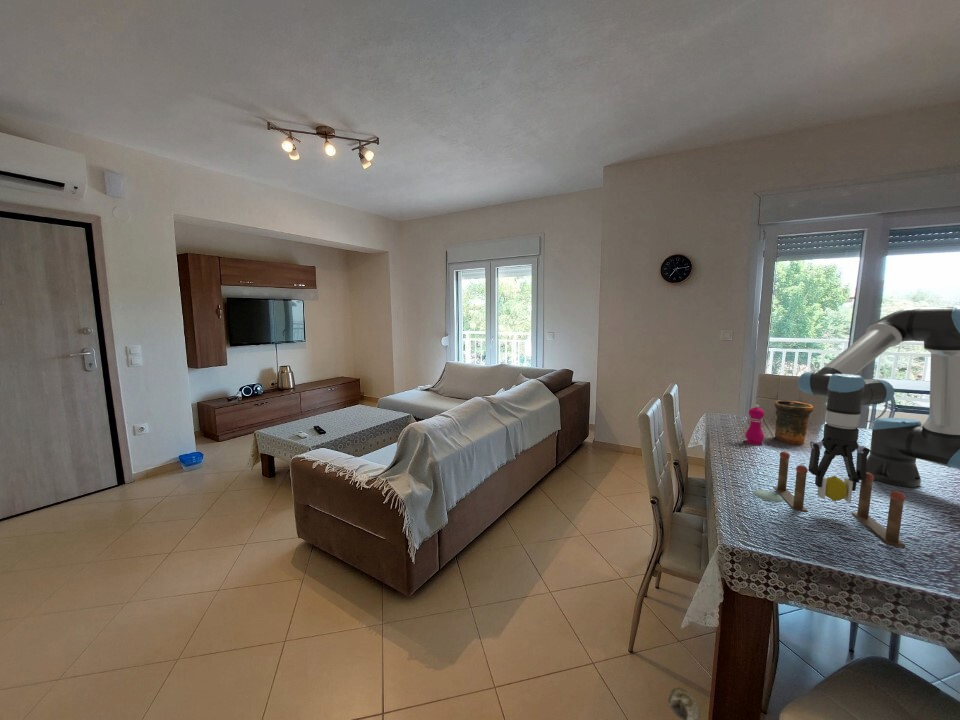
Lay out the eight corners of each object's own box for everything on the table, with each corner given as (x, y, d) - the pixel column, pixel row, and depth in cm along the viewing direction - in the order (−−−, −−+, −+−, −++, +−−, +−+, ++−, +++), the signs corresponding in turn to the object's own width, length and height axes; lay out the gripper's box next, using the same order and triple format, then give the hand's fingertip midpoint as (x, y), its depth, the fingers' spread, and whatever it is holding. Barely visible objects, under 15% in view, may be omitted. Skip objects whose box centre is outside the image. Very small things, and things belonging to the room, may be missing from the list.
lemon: (817, 497, 117) (817, 473, 117) (833, 496, 118) (833, 471, 117) (835, 506, 112) (835, 480, 111) (851, 504, 112) (852, 479, 112)
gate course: (842, 497, 127) (847, 456, 125) (904, 547, 99) (911, 495, 98) (773, 488, 133) (776, 449, 132) (813, 532, 106) (818, 483, 104)
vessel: (812, 450, 171) (817, 408, 169) (773, 445, 179) (777, 404, 176) (806, 442, 183) (810, 402, 181) (769, 437, 191) (773, 399, 188)
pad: (777, 493, 130) (777, 492, 130) (786, 504, 122) (787, 502, 122) (750, 490, 132) (750, 488, 132) (757, 500, 125) (758, 498, 125)
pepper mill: (759, 443, 181) (763, 403, 179) (765, 448, 174) (769, 406, 172) (742, 442, 183) (745, 402, 181) (747, 447, 176) (750, 405, 174)
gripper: (873, 424, 113) (864, 497, 115) (797, 419, 119) (791, 488, 121) (890, 431, 106) (881, 509, 108) (809, 425, 112) (802, 499, 114)
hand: (833, 498), depth 115 cm, fingers closed on lemon, 5 cm apart
